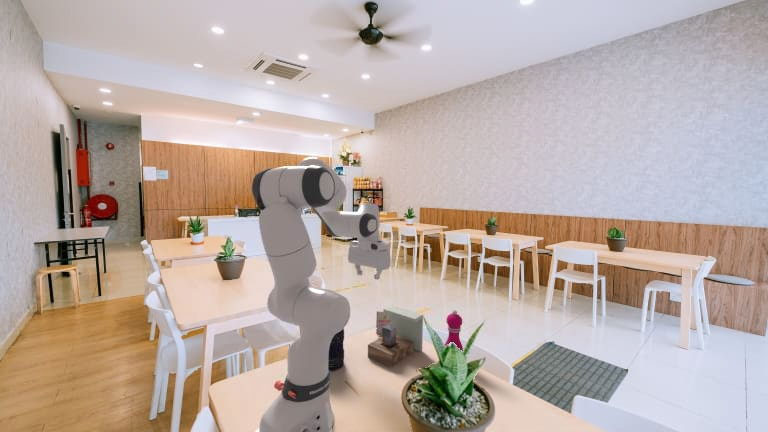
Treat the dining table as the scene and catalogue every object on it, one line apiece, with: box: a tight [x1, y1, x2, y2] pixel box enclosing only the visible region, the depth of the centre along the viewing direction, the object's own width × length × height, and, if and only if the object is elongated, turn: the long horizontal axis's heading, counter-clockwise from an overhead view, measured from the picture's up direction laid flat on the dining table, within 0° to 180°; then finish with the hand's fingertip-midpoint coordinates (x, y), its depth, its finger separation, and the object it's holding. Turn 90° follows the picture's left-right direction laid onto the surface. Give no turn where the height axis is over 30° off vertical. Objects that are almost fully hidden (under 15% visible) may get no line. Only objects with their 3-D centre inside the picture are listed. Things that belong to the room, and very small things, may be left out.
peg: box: [381, 324, 397, 349], centre depth 124 cm, size 4×4×12 cm
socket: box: [367, 335, 414, 369], centre depth 125 cm, size 14×12×5 cm
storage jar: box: [328, 327, 345, 372], centre depth 117 cm, size 10×10×15 cm
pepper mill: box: [444, 309, 464, 352], centre depth 121 cm, size 7×7×20 cm
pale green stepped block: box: [383, 304, 424, 353], centre depth 131 cm, size 6×16×16 cm, turn 51°
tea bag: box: [375, 310, 391, 335], centre depth 145 cm, size 4×7×10 cm, turn 87°
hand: (368, 276), depth 125 cm, fingers open, 8 cm apart
